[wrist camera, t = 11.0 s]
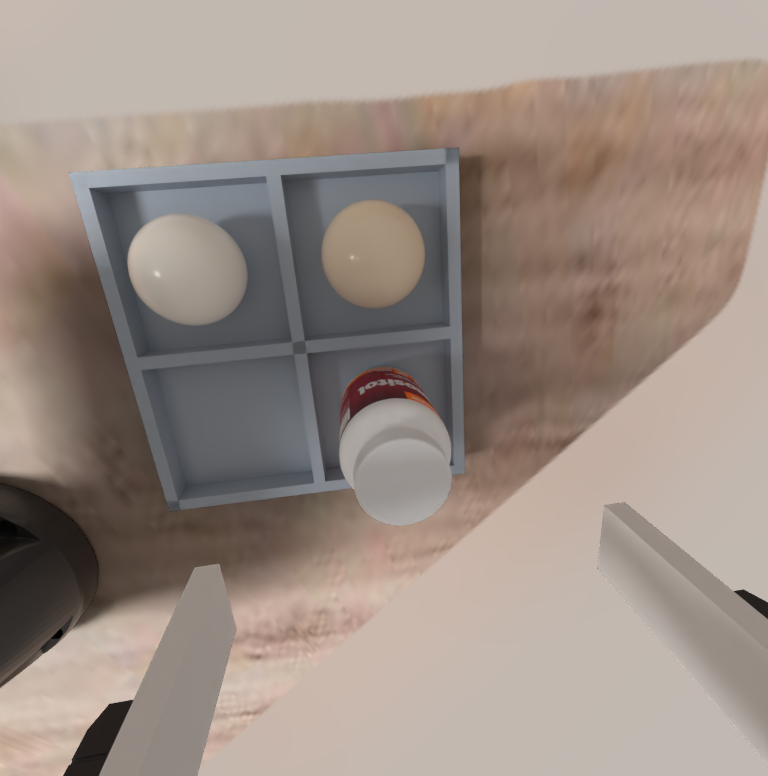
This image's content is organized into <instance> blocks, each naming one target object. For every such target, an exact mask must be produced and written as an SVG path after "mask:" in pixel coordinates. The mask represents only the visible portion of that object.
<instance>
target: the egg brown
mask: <svg viewBox="0 0 768 776" xmlns="http://www.w3.org/2000/svg"><path fill="white" fill-rule="evenodd" d="M321 258H322V265H323V269H324V272H325V275H326V277H327V280H328V282H329V283H330V285H331V286H332V288H333V289H334V290H335V291H336V292H337V293H338V294H339V295H340V296H341V297H342V298H343V299H345V300H346V301H348V302H349V303H351V304H353V305H356V306H358V307H362V308H368V309H380V308H386V307H389V306H392V305H394V304H396V303H398V302H400V301H401V300H403V299H404V298H405V297H407V296H408V295H409V294H410V293H411V292H412V290H413V289H414V288H415V286H416V285H417V283H418V281H419V279H420V277H421V275H422V272H423V268H424V263H425V245H424V241H423V237H422V234H421V232H420V230H419V228H418V226H417V224H416V223H415V221H414V220H413V218H412V217H411V216H410V215H409V214H408V213H407V212H406V211H404V210H403V209H402V208H400V207H399V206H397V205H395V204H393V203H391V202H388V201H384V200H379V199H367V200H361V201H358V202H355V203H352V204H350V205H348V206H347V207H345V208H344V209H342V210H341V211H340V212H339V213H338V214H337V215H336V216H335V217H334V218H333V220H332V221H331V223H330V224H329V226H328V228H327V230H326V232H325V235H324V238H323V242H322V249H321Z"/></svg>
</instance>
